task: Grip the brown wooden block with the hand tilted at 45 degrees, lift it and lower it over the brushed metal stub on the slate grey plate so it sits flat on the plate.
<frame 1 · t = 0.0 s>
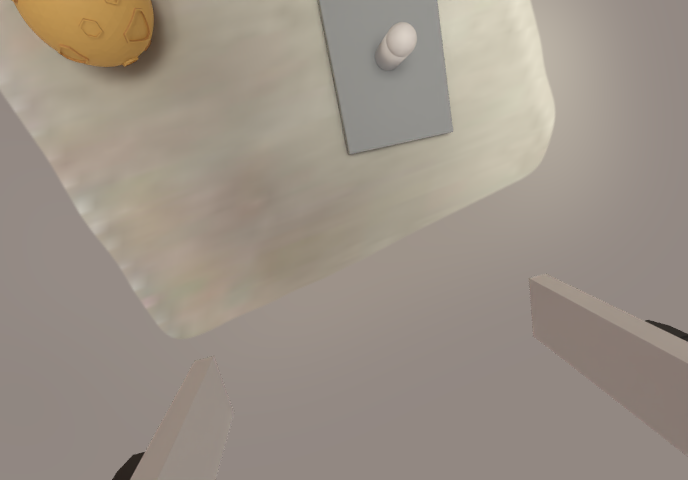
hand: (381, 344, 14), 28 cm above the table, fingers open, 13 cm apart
stub plate: (384, 60, 37), on the table
stress ball: (119, 25, 34), on the table
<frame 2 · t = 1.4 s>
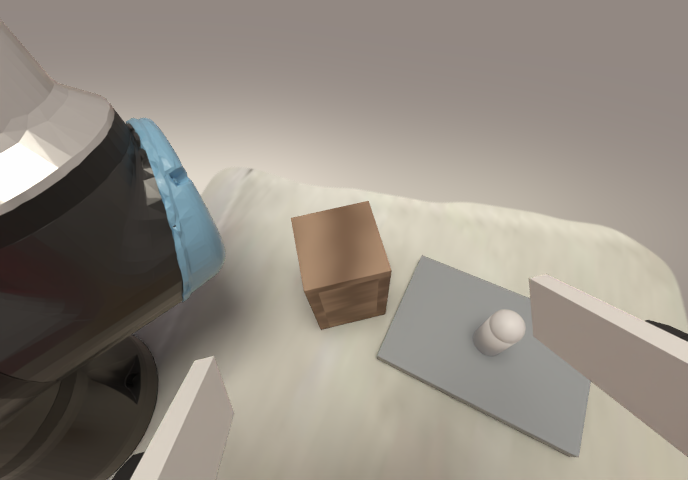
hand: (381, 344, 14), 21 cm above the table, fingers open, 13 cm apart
brown wooden block: (345, 291, 38), on the table
stub plate: (483, 344, 34), on the table
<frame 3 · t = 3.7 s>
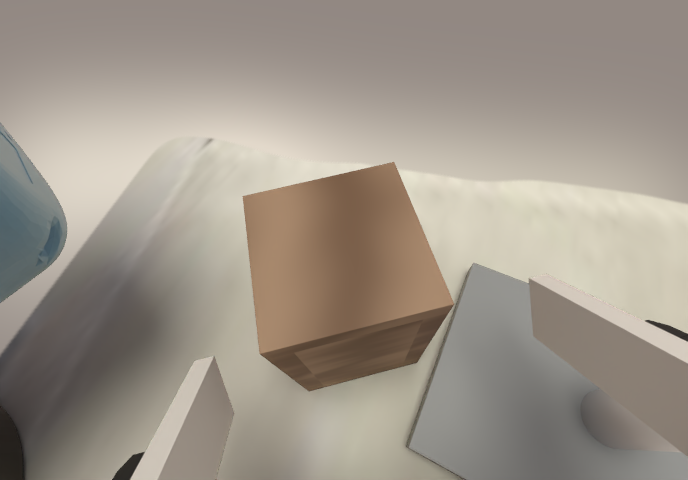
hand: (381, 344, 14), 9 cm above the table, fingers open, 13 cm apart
brown wooden block: (350, 323, 23), on the table
stub plate: (593, 419, 19), on the table
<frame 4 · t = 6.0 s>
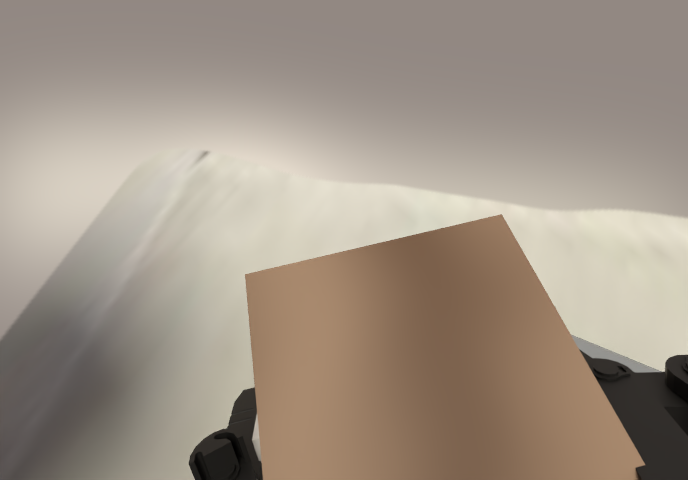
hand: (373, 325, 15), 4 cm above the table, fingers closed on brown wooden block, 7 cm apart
brown wooden block: (392, 414, 17), on the table, touching gripper
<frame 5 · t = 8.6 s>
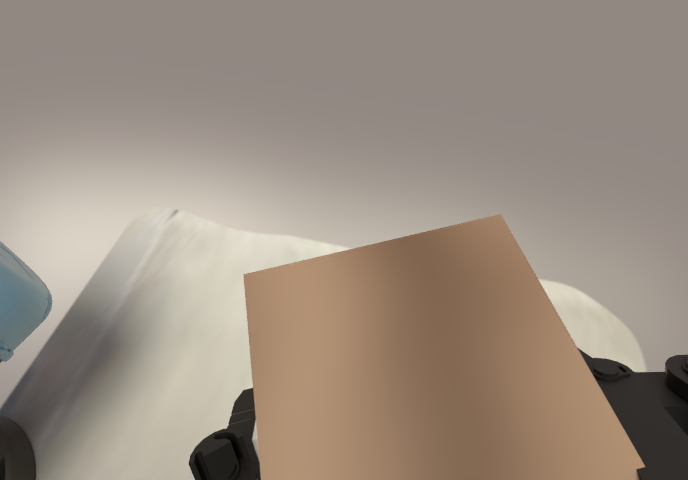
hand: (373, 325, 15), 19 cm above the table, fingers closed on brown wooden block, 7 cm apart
brown wooden block: (391, 414, 17), point 15 cm above the table, touching gripper
when the fingers open (6 cm above the table, at t = 11.4 s): brown wooden block drops 1 cm, resting on stub plate.
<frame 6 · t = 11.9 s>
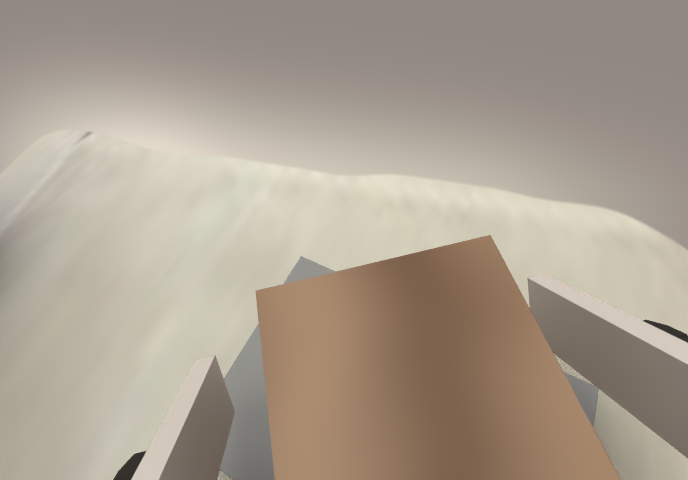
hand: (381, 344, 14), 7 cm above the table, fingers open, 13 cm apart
brown wooden block: (390, 416, 18), point 1 cm above the table, touching stub plate
stub plate: (389, 417, 19), on the table
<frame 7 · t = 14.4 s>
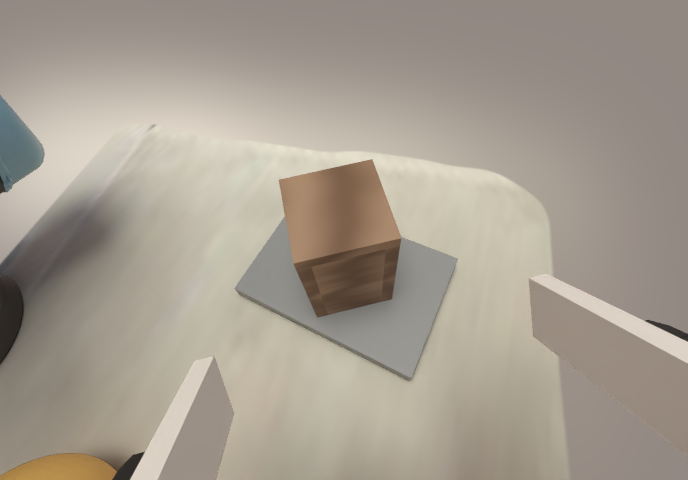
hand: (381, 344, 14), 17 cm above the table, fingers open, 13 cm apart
brown wooden block: (346, 274, 33), point 1 cm above the table, touching stub plate
stub plate: (347, 279, 34), on the table
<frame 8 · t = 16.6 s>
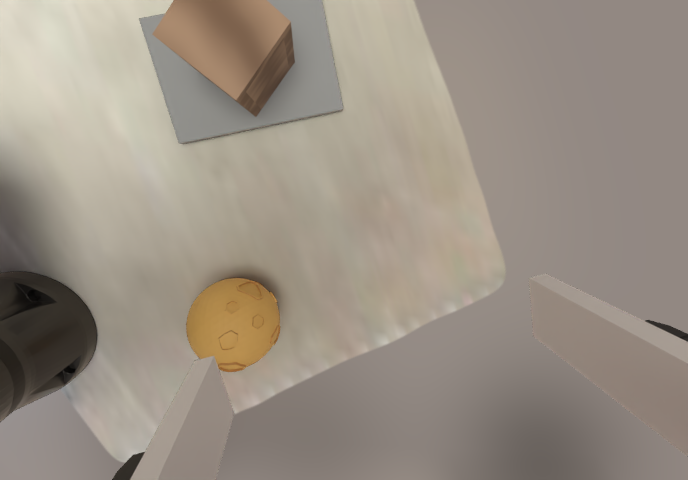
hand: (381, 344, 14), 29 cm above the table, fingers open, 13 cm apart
brown wooden block: (247, 66, 35), point 1 cm above the table, touching stub plate
stub plate: (249, 69, 37), on the table
stress ball: (243, 303, 43), on the table
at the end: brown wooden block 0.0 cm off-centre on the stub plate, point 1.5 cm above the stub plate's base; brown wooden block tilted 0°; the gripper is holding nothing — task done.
